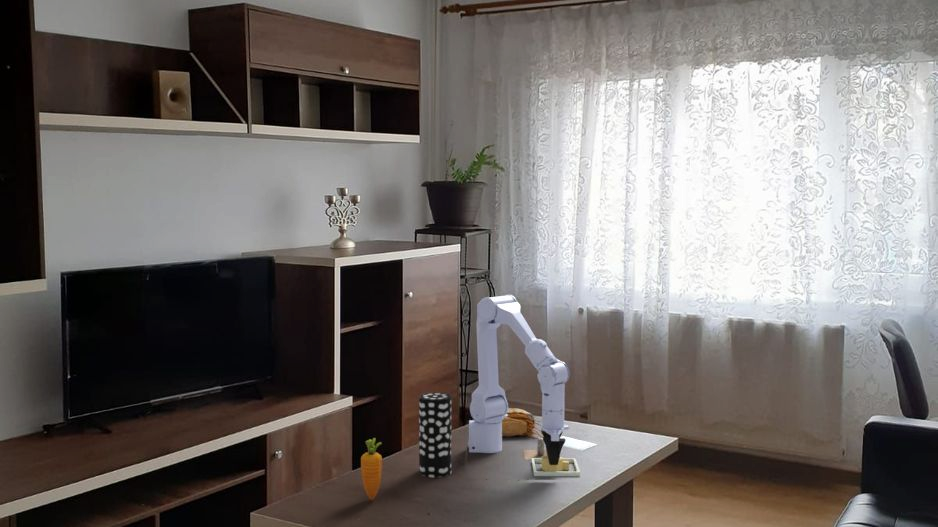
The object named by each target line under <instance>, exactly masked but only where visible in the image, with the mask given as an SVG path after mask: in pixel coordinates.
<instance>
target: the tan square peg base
mask: <svg viewBox="0 0 938 527" xmlns="http://www.w3.org/2000/svg"><path fill="white" fill-rule="evenodd" d="M536 440H537V443H536V445H537V447H536V448H537V449H523V450H522V451H523V456H524V458H523V459H524V460H525V461H532V458H542V456H546V455H547V451H546V449H545V443H544V441H543V438H542V437H537V438H536Z"/></svg>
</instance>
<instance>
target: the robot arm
mask: <svg viewBox="0 0 938 527" xmlns="http://www.w3.org/2000/svg"><path fill="white" fill-rule="evenodd" d="M521 307H522V306H521V304H520V303H519V302H518V300H517V298H516V297H515V296H514V295H512V294H504V295H499V296H492V297H490V296H485V297H483V298H482V299H481V300H480V301H479V302H478V303H477V304H476V314H477V315H476V316H477V318H476V323H475V324H476V325H475V326H476V346H477V368H478V372H477V373H478V386H477V387H476V389H475V390H474V391H472V393H471V402H470V404H469V412H470V416H471V418H472V420H471V419H469V420H468V440H467V448H468V453H483V454H496V453H499V452H501V451H502V450H503V436H502V420H503V419H504V415H506V413H507V411H508V408H509V402H508V399H507V397H506V391H505V389H504V388H502V387H501V386H500V383H499V364H498V363H499V362H498V360H499V359H498V358H499V357H498V336H497V330H498V328H499V327H500V326H501V325H502V324H503V325H506V326H507V325H508V326H509V328H510V329H511V330H512V331H513V332H514V334H515V335H516V336H517V337H518V338H519V340H520V341H521V342H522V344H523V345H524V346H525V348H524V353H525V355H526V356H527V358H528V359H529V360H530V362H531V364H532V365H533V367H534V368H535V369H536V371H537V372H538V373H537V380H538V382H539V384H540V385H539V386H540V391H541V393H542V396H541V397H542V398H541V401H542V402H541V421H542V422H541V424H540V425H541V426H540V431H541V432H540V433H542V434H541V435H542V437H543V441H544V446H545V450H546V451H547V455H548V460H549V464H550V465H558V462H559V458H560V456H561V452H562V448H563V447H564V446H563V445H564V443H565V438H560V437H561V436H563V435H562V434H563V432H564V431H565V430H567V431H568V430H569V426H570V425H568V424H565V394H566V393H565V388H566V387H565V385H566V383H567V382H568V381H569V378H570V369H569V367H568V366H567V363H565V362H564V361H562V360H559V358H556V356H555V355H554V353H553V352H552V351H551V349H550V348H549V347H548V344H547V342H546V341H544V339H541V338H536V335H535V334H534V332H533V331H532V329H531V327H530V326H529V324H528V322H527V320H526V319H525V317H524V316H523V315H522V312H521V309H522V308H521Z"/></svg>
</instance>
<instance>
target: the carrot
mask: <svg viewBox="0 0 938 527" xmlns="http://www.w3.org/2000/svg"><path fill="white" fill-rule="evenodd" d="M364 443H365V445H366V447H367V452H365V453H363V454H362V455H361V457H360V468H361V480H362V484H363V489H364V491H365V493H366V495H367V497H368V499H369V500H370V501H373V500H375V497H376V496H377V494H378V492H379V489H380V486H381V485H380V484H381V480H382V475H383V474H382V471H383V457H382V454H380V453H378V452H376V451H377V448H379V446H382V441H379V442H377V443H376V437H373V438H372V439H368V440H366V441H365V442H364Z"/></svg>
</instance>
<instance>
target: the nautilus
mask: <svg viewBox="0 0 938 527" xmlns="http://www.w3.org/2000/svg"><path fill="white" fill-rule="evenodd" d="M535 418H537V416H534V415H533V413H530V412H528V411H526V410H524V409H521V408H513V407H511V408H510V407H508V411H507V413H506V415H504V419H503V420H502V437H510V438H511V437H515V436H529V437H531V438H532V439H537V437H535V436H534V435H537V436H539V438H543V434H542V432H541V429H539V428H537V427H536V424H537V425H538V426H540V427H541V425H542V424H539V423H537V422H541V423H542V420H536V419H535ZM537 430H538V431H539V432H540V433H541V434H540V433H539V432H538V431H537Z"/></svg>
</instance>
